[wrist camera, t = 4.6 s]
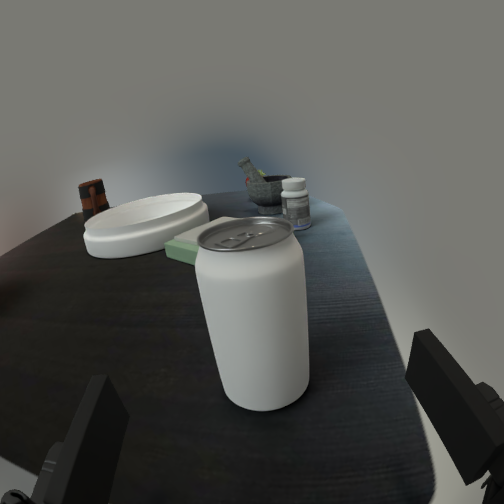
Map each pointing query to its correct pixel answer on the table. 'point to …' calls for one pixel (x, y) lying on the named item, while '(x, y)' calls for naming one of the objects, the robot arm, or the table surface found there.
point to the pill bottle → (296, 203)
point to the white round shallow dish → (143, 225)
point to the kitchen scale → (189, 242)
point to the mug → (93, 198)
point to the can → (256, 309)
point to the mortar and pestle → (263, 188)
